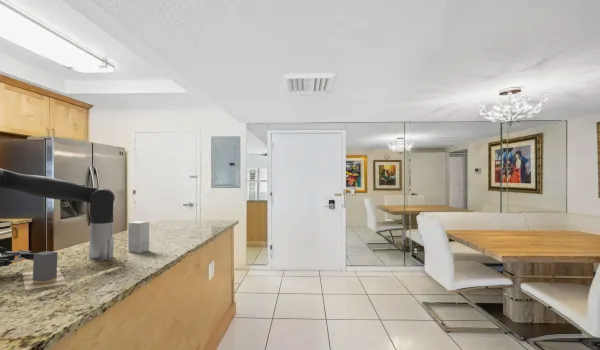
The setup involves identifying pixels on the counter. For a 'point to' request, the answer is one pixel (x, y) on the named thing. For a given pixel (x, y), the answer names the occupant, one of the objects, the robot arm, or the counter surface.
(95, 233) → the robot arm
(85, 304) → the counter surface
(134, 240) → the skincare box
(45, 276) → the block
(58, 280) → the pine board
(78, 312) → the counter surface
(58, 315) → the counter surface
